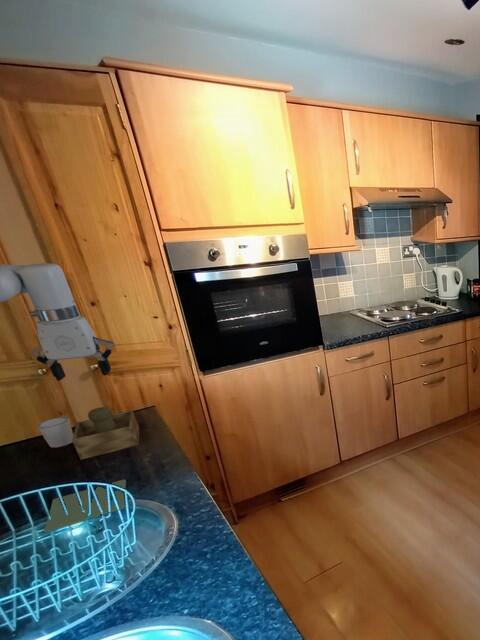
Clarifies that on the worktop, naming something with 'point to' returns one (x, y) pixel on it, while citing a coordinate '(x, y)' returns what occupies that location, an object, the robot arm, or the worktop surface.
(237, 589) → the worktop surface
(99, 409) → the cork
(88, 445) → the basket
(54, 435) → the grey cup
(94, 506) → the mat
